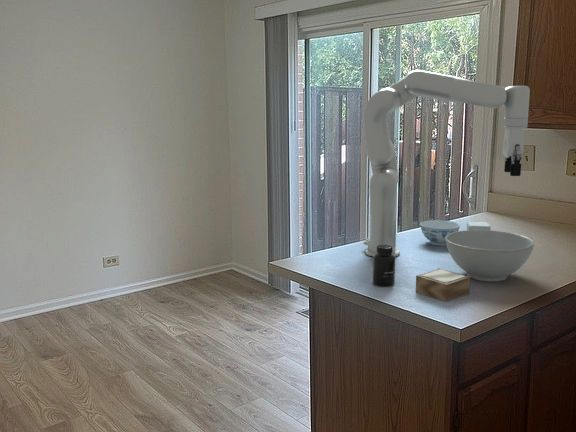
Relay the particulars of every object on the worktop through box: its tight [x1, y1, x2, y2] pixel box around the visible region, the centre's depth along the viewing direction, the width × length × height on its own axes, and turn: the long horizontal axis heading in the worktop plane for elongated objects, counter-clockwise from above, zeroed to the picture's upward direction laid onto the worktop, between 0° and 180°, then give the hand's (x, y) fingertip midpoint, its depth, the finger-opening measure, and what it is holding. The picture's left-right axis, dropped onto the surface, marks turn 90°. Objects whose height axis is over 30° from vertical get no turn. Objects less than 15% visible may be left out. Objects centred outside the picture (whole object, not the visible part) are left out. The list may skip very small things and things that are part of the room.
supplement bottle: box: [372, 245, 396, 287], centre depth 178 cm, size 7×7×12 cm
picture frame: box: [415, 268, 471, 302], centre depth 170 cm, size 11×11×5 cm
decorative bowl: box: [445, 229, 535, 282], centre depth 184 cm, size 27×27×12 cm
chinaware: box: [420, 219, 461, 246], centre depth 225 cm, size 15×15×8 cm
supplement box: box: [466, 221, 491, 230], centre depth 204 cm, size 7×7×13 cm
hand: (512, 173), depth 196 cm, fingers open, 9 cm apart
